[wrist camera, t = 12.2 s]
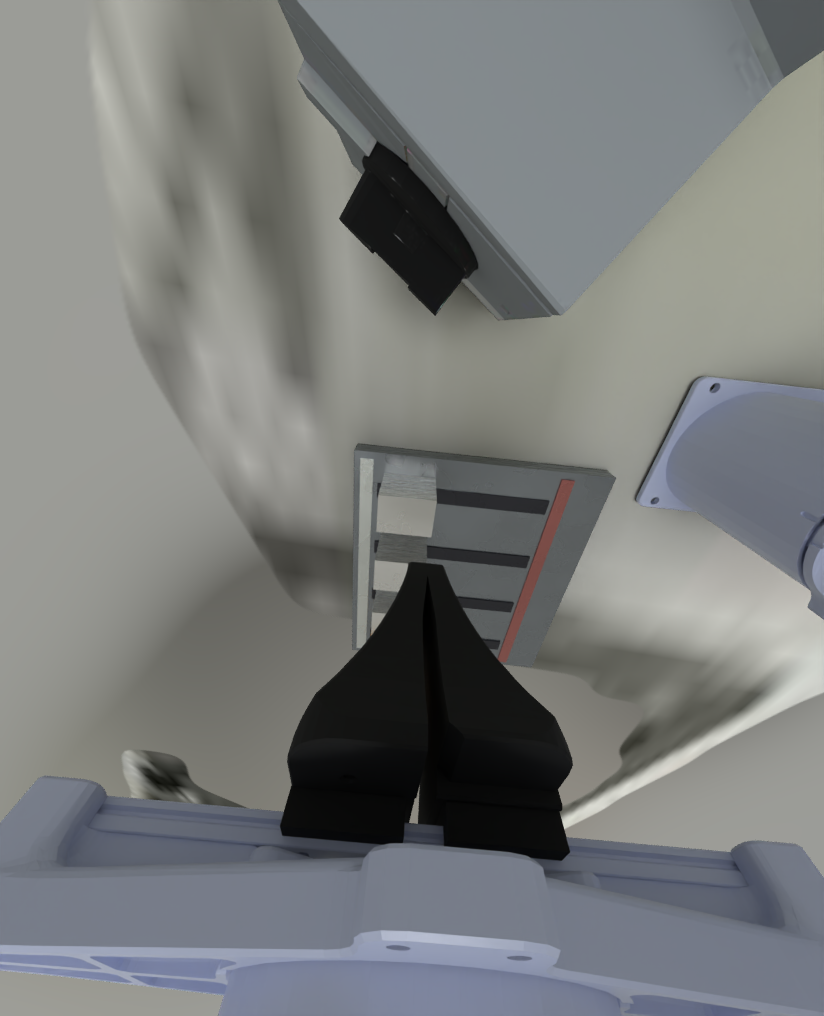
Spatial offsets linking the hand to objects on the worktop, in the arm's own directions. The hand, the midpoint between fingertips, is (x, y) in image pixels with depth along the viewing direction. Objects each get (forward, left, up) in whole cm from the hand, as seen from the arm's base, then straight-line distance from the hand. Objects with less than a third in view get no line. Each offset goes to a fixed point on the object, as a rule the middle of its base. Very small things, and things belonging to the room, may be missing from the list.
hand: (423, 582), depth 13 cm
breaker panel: (-4, +7, -10) cm, 13 cm away
